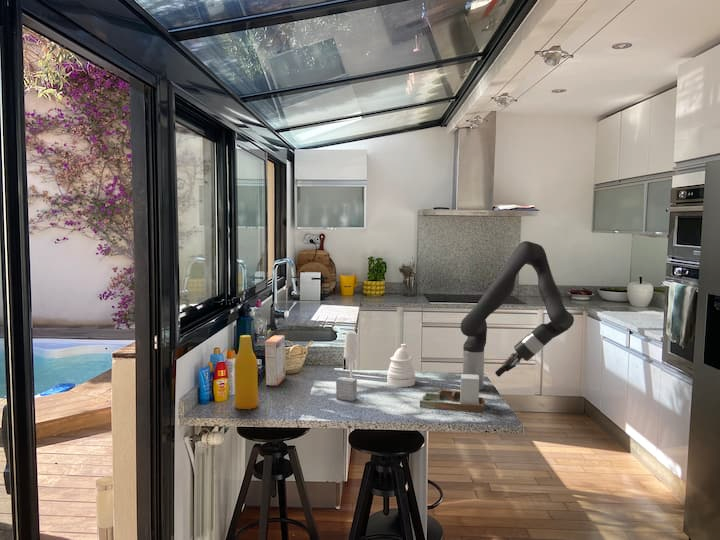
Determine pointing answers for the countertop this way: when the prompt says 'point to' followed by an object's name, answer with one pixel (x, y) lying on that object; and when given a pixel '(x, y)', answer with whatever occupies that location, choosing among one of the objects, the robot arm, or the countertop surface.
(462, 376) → the supplement box
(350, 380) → the medicine box
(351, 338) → the champagne flute
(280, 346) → the cracker box
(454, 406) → the wooden tray
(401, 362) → the honey pot
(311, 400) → the countertop surface
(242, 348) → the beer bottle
